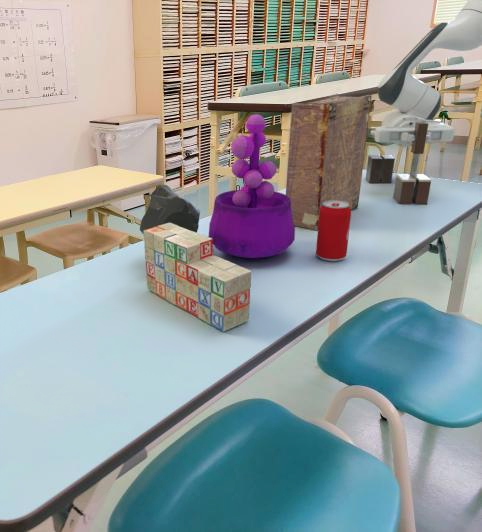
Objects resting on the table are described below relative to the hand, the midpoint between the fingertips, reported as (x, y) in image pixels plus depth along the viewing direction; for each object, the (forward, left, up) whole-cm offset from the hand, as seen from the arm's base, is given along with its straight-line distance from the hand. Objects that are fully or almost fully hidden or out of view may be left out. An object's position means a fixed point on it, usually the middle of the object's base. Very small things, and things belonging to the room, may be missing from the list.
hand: (420, 138), depth 141 cm
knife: (0, -1, -13) cm, 13 cm away
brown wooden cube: (0, -1, -18) cm, 18 cm away
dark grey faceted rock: (+74, +37, -18) cm, 84 cm away
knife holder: (-3, -25, -18) cm, 31 cm away
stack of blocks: (+71, +55, -18) cm, 92 cm away
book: (+29, +8, -18) cm, 35 cm away
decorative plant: (+55, +31, -18) cm, 65 cm away
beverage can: (+39, +37, -18) cm, 56 cm away
